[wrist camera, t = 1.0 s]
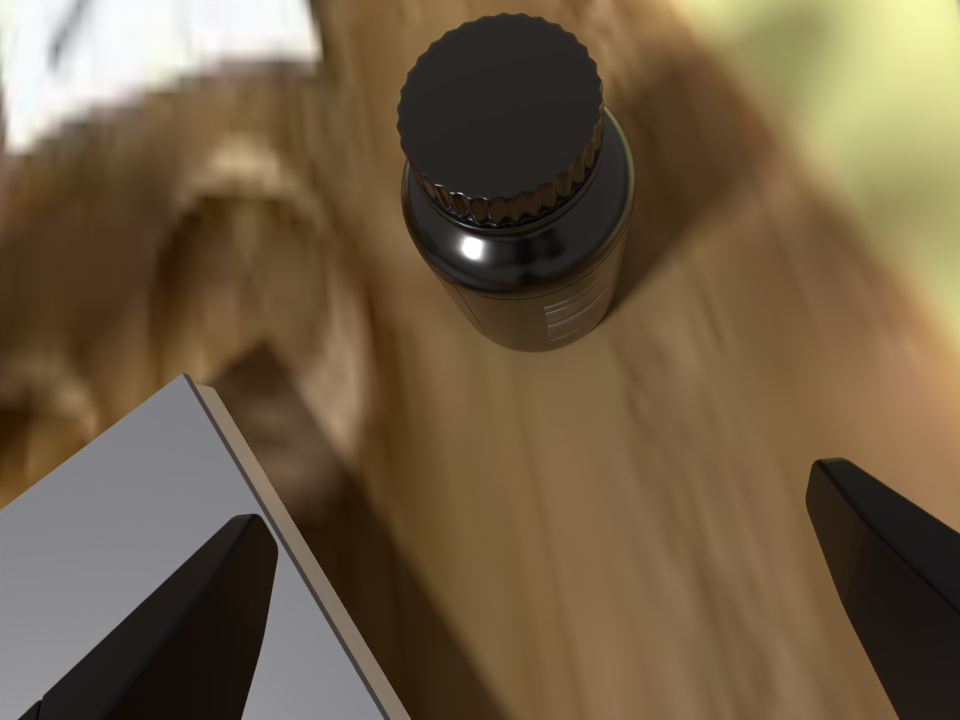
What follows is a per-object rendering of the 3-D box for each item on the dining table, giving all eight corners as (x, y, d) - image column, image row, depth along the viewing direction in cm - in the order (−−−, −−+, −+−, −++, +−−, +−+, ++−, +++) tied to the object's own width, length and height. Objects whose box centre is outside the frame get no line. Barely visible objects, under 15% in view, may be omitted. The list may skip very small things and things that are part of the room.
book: (478, 804, 22) (463, 855, 19) (181, 1022, 22) (122, 1107, 19) (224, 383, 26) (182, 373, 24) (-18, 565, 27) (-89, 577, 24)
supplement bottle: (606, 191, 25) (638, -56, 13) (627, 345, 23) (681, 224, 12) (449, 213, 26) (349, 1, 14) (460, 363, 24) (359, 266, 13)
